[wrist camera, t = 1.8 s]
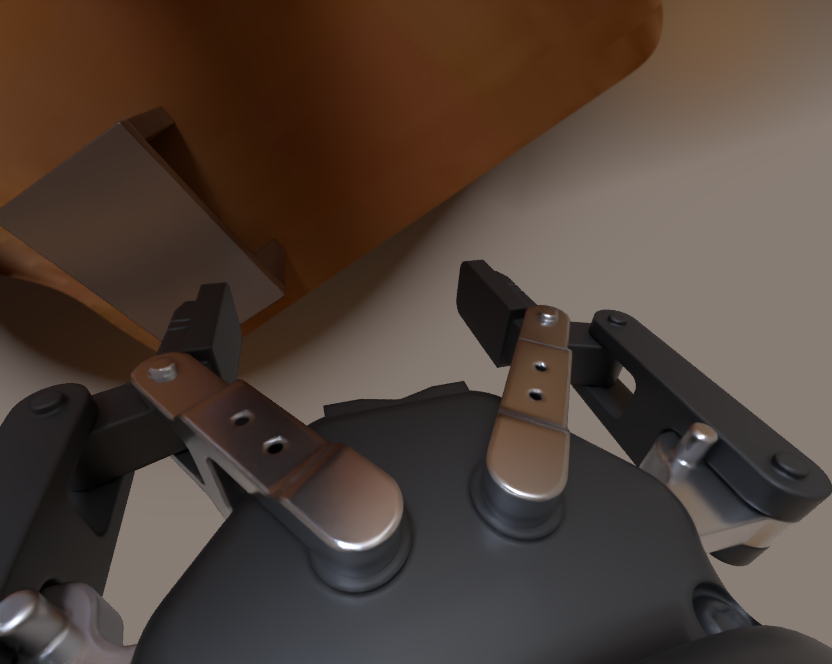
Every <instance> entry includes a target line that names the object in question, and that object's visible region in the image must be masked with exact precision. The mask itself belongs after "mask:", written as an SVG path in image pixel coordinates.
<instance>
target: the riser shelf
mask: <svg viewBox="0 0 832 664" xmlns="http://www.w3.org/2000/svg"><path fill="white" fill-rule="evenodd" d="M172 124H174V121H173V120H172V118H171V117H170V116H169V115H168V114H167V113H166V112H165V110H164V109H163V108H162V107H161V106H159V107H157V108H154V109H151V110H149V111H146V112H143V113H141V114H138V115H135V116H133V117H130V118H127V119H125V120H122V121H120V122H117V123H116V124H114V125H113V126H112V127H110V128H109V129H108V130H106V131H105V132H104V133H102V134H101V135H99V136H98V137H97V138H95V139H94V140H93V141H91V142H90V143H89V144H87V145H86V146H84V147H83V148H82V149H80V150H79V151H78V152H76V153H75V154H74V155H72V156H71V157H69V158H68V159H67V160H65V161H64V162H63V163H61V164H60V165H59V166H57V167H56V168H54V169H53V170H52V171H50V172H49V173H48V174H46V175H45V176H44V177H42V178H41V179H39V180H38V181H37V182H35V183H34V184H33V185H31V186H30V187H29V188H27V189H26V190H24V191H23V192H22V193H20V194H19V195H18V196H16V197H15V198H14V199H12V200H11V201H9V202H8V203H7V204H5V205H4V206H3V207H1V208H0V226H2V227H3V228H5V229H6V230H7V231H9V232H10V233H12V234H13V235H14V236H16V237H17V238H18V239H20V240H21V241H23V242H24V243H25V244H27V245H28V246H30V247H31V248H32V249H34V250H35V251H37V252H38V253H39V254H41V255H42V256H44V257H45V258H46V259H48V260H49V261H50V262H52V263H53V264H55V265H56V266H57V267H59V268H60V269H62V270H63V271H64V272H66V273H67V274H69V275H70V276H71V277H73V278H74V279H76V280H77V281H78V282H80V283H81V284H82V285H84V286H85V287H87V288H88V289H89V290H91V291H92V292H94V293H95V294H96V295H98V296H99V297H101V298H102V299H103V300H105V301H106V302H108V303H109V304H110V305H112V306H113V307H114V308H116V309H117V310H119V311H120V312H121V313H123V314H124V315H126V316H127V317H128V318H130V319H131V320H133V321H134V322H135V323H137V324H138V325H140V326H141V327H142V328H144V329H145V330H146V331H148V332H149V333H151V334H152V335H153V336H155V337H156V338H158V339H159V340H160V341H163V338H164V336H165V333H166V331H167V328H168V325H169V323H171V322H170V320H171V318H172V315H173V313H174V311H175V310H176V309H177V308H178V307H179V306H181V305H182V304H183V303H184V302H185V301H195V300H196V299H197V295H198V292H199V289H200V286H201V285H202V284H211V283H223V282H227V283H228V284H229V286H230V289H231V293H232V297H233V300H234V304H235V308H236V312H237V315H238V319H239V323H240V325H241V324H242V323H244V322H246V321H247V320H249V319H250V318H252V317H253V316H255V315H256V314H258V313H259V312H261V311H262V310H264V309H265V308H267V307H268V306H270V305H271V304H273V303H274V302H276V301H277V300H279V299H280V298H282V297H283V296H285V268H284V248H283V246H282V245H281V244H280V243H279V242H278V241H277V240H276V239H274V240H272V241H271V242H270V243H268V244H267V245H265V246H264V247H262V248H261V249H259V250H258V251H256V252H255V253H253V254H252V253H251V252H250V251H249V250H248V249H247V247H246V246H245V245H244V244H243V243H242V242H241V241H240V240H239V239H238V238H237V237H236V236H235V235H234V234H233V233H232V232H231V231H230V229H229V228H228V227H227V226H226V225H225V224H224V223H223V222H222V221H221V220H220V219H219V218H218V217H217V216H216V215H215V214H214V213H213V211H212V210H211V209H210V208H209V207H208V206H207V205H206V204H205V203H204V202H203V201H202V200H201V199H200V198H199V197H198V196H197V195H196V193H195V192H194V191H193V190H192V189H191V188H190V187H189V186H188V185H187V184H186V183H185V182H184V181H183V180H182V179H181V178H180V177H179V175H178V174H177V173H176V172H175V171H174V170H173V169H172V168H171V167H170V166H169V165H168V164H167V163H166V162H165V161H164V160H163V159H162V157H161V156H160V155H159V154H158V153H157V152H156V151H155V150H154V149H153V148H152V147H151V146H150V145H149V144H148V143H147V142H149V141H150V140H151V139H153V138H154V137H156V136H157V135H158V134H160V133H161V132H163V131H164V130H165V129H167V128H168V127H169V126H171V125H172Z"/></svg>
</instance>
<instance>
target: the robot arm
mask: <svg viewBox="0 0 832 664" xmlns="http://www.w3.org/2000/svg"><path fill="white" fill-rule="evenodd" d="M456 303H457V309H458V312H459V314H460V316H461V317H462V318H463V320H464V321H465V323H466V324H467V326H468V327H469V328H470V330H471V331H472V333H473V334H474V336H475V337H476V338H477V340H478V341H479V343H480V344H481V346H482V347H483V348H484V350H485V351H486V353H487V354H488V355H489V357H490V358H491V360H492V361H493V363H494V364H495V365H496V367H497V368H499V367H505V366H510V370H509V374H508V377H507V381H506V385H505V389H504V392H503V396H502V397H499V396H497V395H493V394H490V393H486V392H480V391H470V390H469V389H468V387H467V385H466V384H465V382H464V381H461V382H455V383H449V384H444V385H438V386H432V387H430V388H427V389H425V390H422V391H420V392H417V393H415V394H412V395H410V396H408V397H405V398H402V399H396V400H392V399H390V400H387V399H358V400H353V401H347V402H341V403H336V404H330V405H325V406H324V414H325V417H323V418H320V419H318V420H316V421H315V422H312V423H310V424H309V425H307V426H306V425H305V424H304V423H302V422H301V421H299V420H298V419H297V418H295V417H294V416H292V415H291V414H290V413H288V412H287V411H286V410H284V409H283V408H281V407H280V406H279V405H277V404H276V403H274V402H273V401H272V400H270V399H269V398H267V397H266V396H265V395H263V394H262V393H260V392H259V391H258V390H256V389H255V388H253V387H252V386H251V385H249V384H248V383H247V382H245V381H243V380H240V379H238V380H237V376H238V368H239V358H240V351H241V342H242V335H241V327H240V323H239V319H238V315H237V312H236V308H235V304H234V300H233V297H232V293H231V289H230V286H229V284H228V283H227V282H223V283H211V284H202V285H201V286H200V289H199V292H198V295H197V299H196V300H195V301H185V302H184V303H183V304H182V305H181V306H179V307H178V308H177V309H176V310H175V311H174V313H173V315H172V318H171V320H170V322H171V323H169V325H168V328H167V331H166V333H165V336H164V338H163V341H162V343H161V346H160V348H159V351H158V353H157V356H154V357H151V358H149V359H147V360H145V361H144V362H142V363H141V364H139V365H138V366H137V367H136V368H135V369H134V370H133V372H132V373H131V376H130V380H131V382H129V383H127V384H124V385H122V386H119V387H116V388H113V389H110V390H107V391H104V392H100V393H97V394H94V395H91V394H90V392H89V391H88V389H87V388H86V387H85V386H83V385H81V384H75V383H66V384H59V385H54V386H51V387H48V388H45V389H42V390H40V391H37V392H36V393H33V394H31V395H29V396H28V397H26V398H25V399H23V400H22V401H20V402H19V403H18V404H16V405H15V406H14V407H13V408H12V410H11V411H10V412H9V414H8V415H7V417H6V418H5V420H4V422H3V423H2V425H1V426H0V664H832V648H830V647H828V646H827V645H825V644H823V643H821V642H819V641H818V640H816V639H814V638H811V637H809V636H806V635H804V634H802V633H799V632H797V631H793V630H790V629H786V628H782V627H776V626H767V625H764V626H763V625H761V624H760V623H759V622H757V621H756V620H755V619H753V618H752V617H751V616H750V615H749V614H748V613H747V612H746V611H744V609H742V607H741V606H740V605H739V604H738V603H737V602H736V601H735V600H734V599H733V598H732V596H731V595H730V594H729V593H728V591H727V590H726V588H725V587H724V585H723V583H722V582H721V580H720V579H719V577H718V575H717V574H716V572H715V570H714V568H713V566H712V565H711V563H710V561H709V559H708V557H707V555H706V554H707V553H709V554H711V555H712V556H713V557H715V558H717V559H718V560H720V561H722V562H724V563H727V564H730V565H734V566H745V565H748V564H750V563H751V562H752V561H753V560H754V559H756V558H757V557H758V556H759V555H760V554H762V553H763V552H764V551H765V550H766V549H768V548H769V547H770V546H771V545H772V544H773V543H775V542H776V541H777V540H778V539H779V538H780V537H782V536H783V535H784V534H785V533H786V532H787V531H789V530H790V529H791V528H792V527H793V526H794V525H796V524H797V523H798V522H799V521H800V520H802V518H804V517H805V516H806V515H807V514H809V513H810V512H811V511H812V510H813V509H815V508H816V507H817V506H818V505H819V504H820V503H822V502H823V501H824V500H825V499H826V498H827V497H829V495H830V494H831V493H832V484H831V482H830V480H829V478H828V476H827V475H826V474H825V473H824V471H823V470H822V469H821V468H820V467H819V466H818V465H816V464H815V463H814V462H813V461H812V460H810V459H809V458H808V457H807V456H805V455H804V454H803V453H802V452H800V451H799V450H798V449H797V448H795V447H794V446H793V445H792V444H790V443H789V442H788V441H787V440H785V439H784V438H783V437H782V436H780V435H779V434H778V433H777V432H775V431H774V430H773V429H772V428H771V427H769V426H768V425H767V424H766V423H764V422H763V421H762V420H761V419H759V418H758V417H757V416H756V415H754V414H753V413H752V412H751V411H749V410H748V409H747V408H745V407H744V406H743V405H742V404H741V403H739V402H738V401H737V400H736V399H734V398H733V397H732V396H730V395H729V394H728V393H727V392H725V391H724V390H723V389H722V388H721V387H719V386H718V385H717V384H716V383H714V382H713V381H712V380H711V379H709V378H708V377H707V376H706V375H704V374H703V373H702V372H701V371H699V370H698V369H697V368H696V367H694V366H693V365H692V364H691V363H689V362H688V361H687V360H686V359H684V358H683V357H682V356H681V355H680V354H678V353H677V352H676V351H674V350H673V349H672V348H671V347H669V346H668V345H667V344H666V343H665V342H663V341H662V340H661V339H660V338H658V337H657V336H656V335H655V334H653V333H652V332H651V331H649V330H648V329H647V328H646V327H645V326H643V325H642V324H641V323H639V322H638V321H637V320H636V319H635V318H633V317H631V316H630V315H628V314H625V313H623V312H619V311H615V310H600V311H597V312H596V313H595V314H594V317H593V320H592V322H591V323H581V322H570V318H569V316H568V315H567V314H566V313H564V312H563V311H561V310H559V309H557V308H554V307H551V306H545V305H537V304H536V303H535V302H534V301H532V300H531V299H530V298H529V297H528V296H527V295H526V294H525V293H524V292H523V291H521V289H520V288H519V287H518V286H517V285H515V283H514V282H512V281H511V279H509V278H508V277H507V276H505V275H503V274H501V273H499V272H497V271H494V270H493V269H492V268H491V267H490V266H489V265H488V264H487V263H486V262H485V261H484V260H473V261H464V262H462V264H461V267H460V273H459V282H458V290H457V299H456ZM622 367H625V368H626V369H627V370H628V371H629V372H630V373H631V374H632V376H633V377H634V379H635V383H636V390H635V392H634V394H633V393H632V392H631V391H630V390H629V389H628V388H627V387H626V386H625V385H624V384H623V383H622V382H621V381H620V380H619V379H618V376H619V374H620V372H621V370H622ZM570 384H571V385H572V386H573V388H574V389H575V390H576V391H577V393H578V394H579V395H580V396H581V398H582V399H583V400H584V401H585V403H586V404H587V405H588V406H589V408H590V409H591V410H592V411H593V413H594V414H595V415H596V416H597V418H598V419H599V420H600V421H601V423H602V424H603V425H604V426H605V427H606V429H607V430H608V431H609V432H610V434H611V435H612V436H613V438H614V439H615V440H616V441H617V443H618V444H619V445H620V446H621V447H622V449H623V450H624V451H625V452H626V454H627V455H628V456H629V457H630V459H631V460H632V461H633V462H634V464H635V465H636V466H635V465H633V464H631V463H629V462H627V461H625V460H623V459H621V458H619V457H617V456H615V455H613V454H611V453H609V452H607V451H606V450H604V449H602V448H600V447H598V446H596V445H594V444H592V443H590V442H588V441H586V440H584V439H582V438H580V437H578V436H576V435H574V434H572V433H571V432H570V431H569V430H568V428H567V424H568V408H569V393H570ZM168 456H170V457H171V458H172V459H173V460H174V461H175V462H176V463H177V464H178V466H180V467H181V469H182V470H183V471H184V472H185V473H186V474H187V475H188V476H190V478H191V479H192V480H193V481H194V482H195V483H196V484H197V485H198V486H199V487H200V488H201V489H202V490H203V491H204V492H205V493H206V494H207V495H208V496H209V498H210V499H211V500H212V502H213V503H214V505H215V506H216V508H217V509H218V511H219V512H220V513H221V515H222V516H223V517H224V519H225V522H224V523H223V524H222V525H221V527H220V528H219V529H218V531H217V532H216V533H215V534H214V536H213V537H212V538H211V539H210V541H209V542H208V543H207V545H206V546H205V547H204V548H203V550H202V551H201V552H200V553H199V555H198V556H197V557H196V558H195V560H194V561H193V562H192V564H191V565H190V566H189V567H188V569H187V570H186V571H185V572H184V574H183V575H182V576H181V578H180V579H179V580H178V581H177V583H176V584H175V585H174V587H173V588H172V589H171V590H170V592H169V593H168V594H167V595H166V597H165V598H164V599H163V601H162V602H161V603H160V605H159V606H158V607H157V609H156V610H155V612H154V613H153V615H152V616H151V618H150V620H149V621H148V623H147V625H146V627H145V629H144V630H143V632H142V635H141V637H140V639H139V641H138V644H135V645H129V646H123V631H124V626H123V621H122V618H121V616H120V615H119V613H118V612H117V611H116V610H115V609H114V608H113V607H112V606H110V604H109V603H107V602H106V601H105V600H104V599H103V598H102V596H103V592H104V588H105V584H106V581H107V577H108V573H109V569H110V565H111V561H112V557H113V553H114V549H115V546H116V542H117V538H118V534H119V531H120V527H121V523H122V519H123V515H124V511H125V507H126V504H127V500H128V496H129V492H130V488H131V484H132V480H133V476H134V472H135V470H138V469H140V468H142V467H145V466H147V465H149V464H152V463H154V462H156V461H159V460H161V459H164V458H166V457H168Z"/></svg>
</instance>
